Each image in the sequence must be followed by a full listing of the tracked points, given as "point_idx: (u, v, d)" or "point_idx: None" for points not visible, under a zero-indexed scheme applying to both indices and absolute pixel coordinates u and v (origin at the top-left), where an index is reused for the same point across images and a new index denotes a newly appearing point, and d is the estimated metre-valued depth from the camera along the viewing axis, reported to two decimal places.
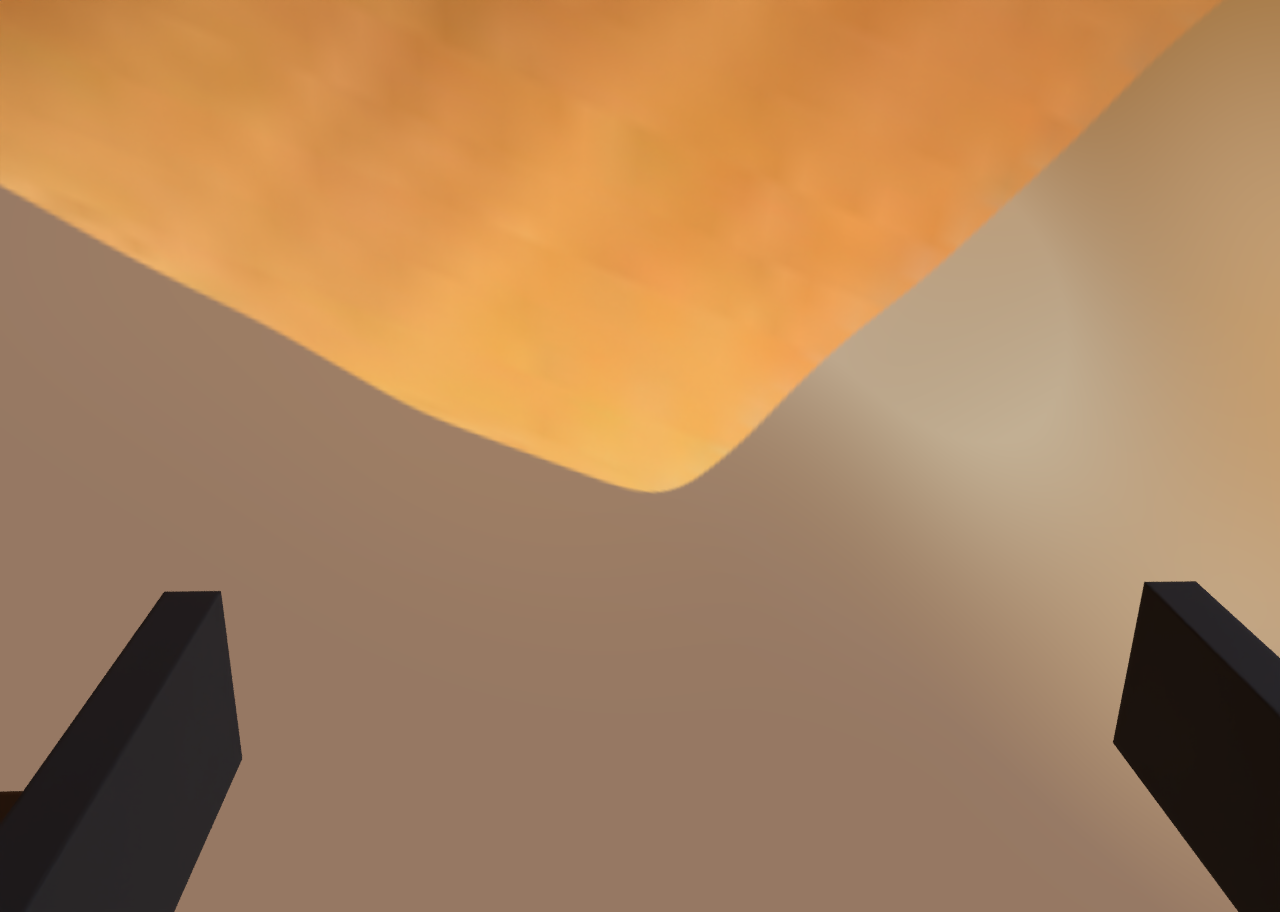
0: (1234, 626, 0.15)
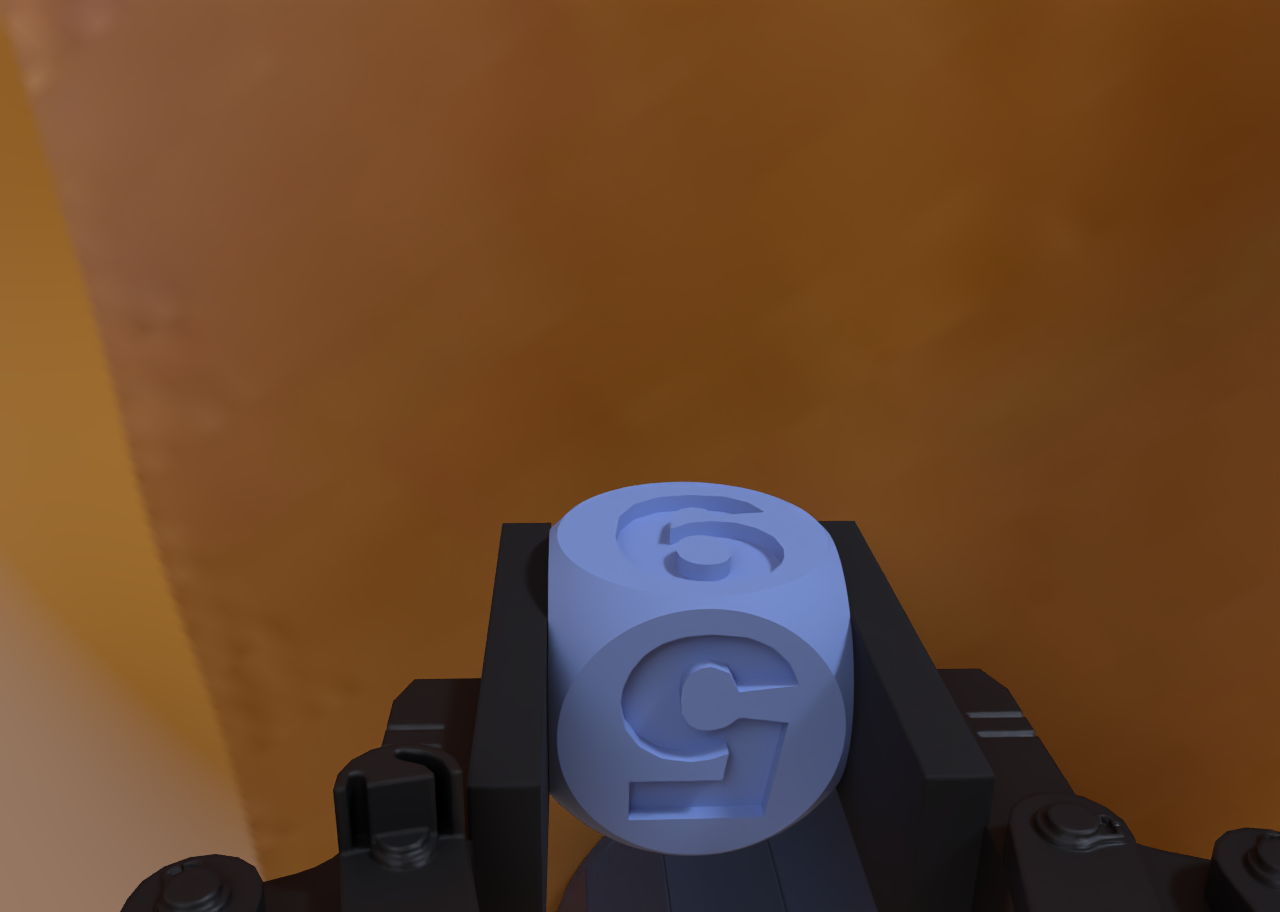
0: (864, 557, 0.17)
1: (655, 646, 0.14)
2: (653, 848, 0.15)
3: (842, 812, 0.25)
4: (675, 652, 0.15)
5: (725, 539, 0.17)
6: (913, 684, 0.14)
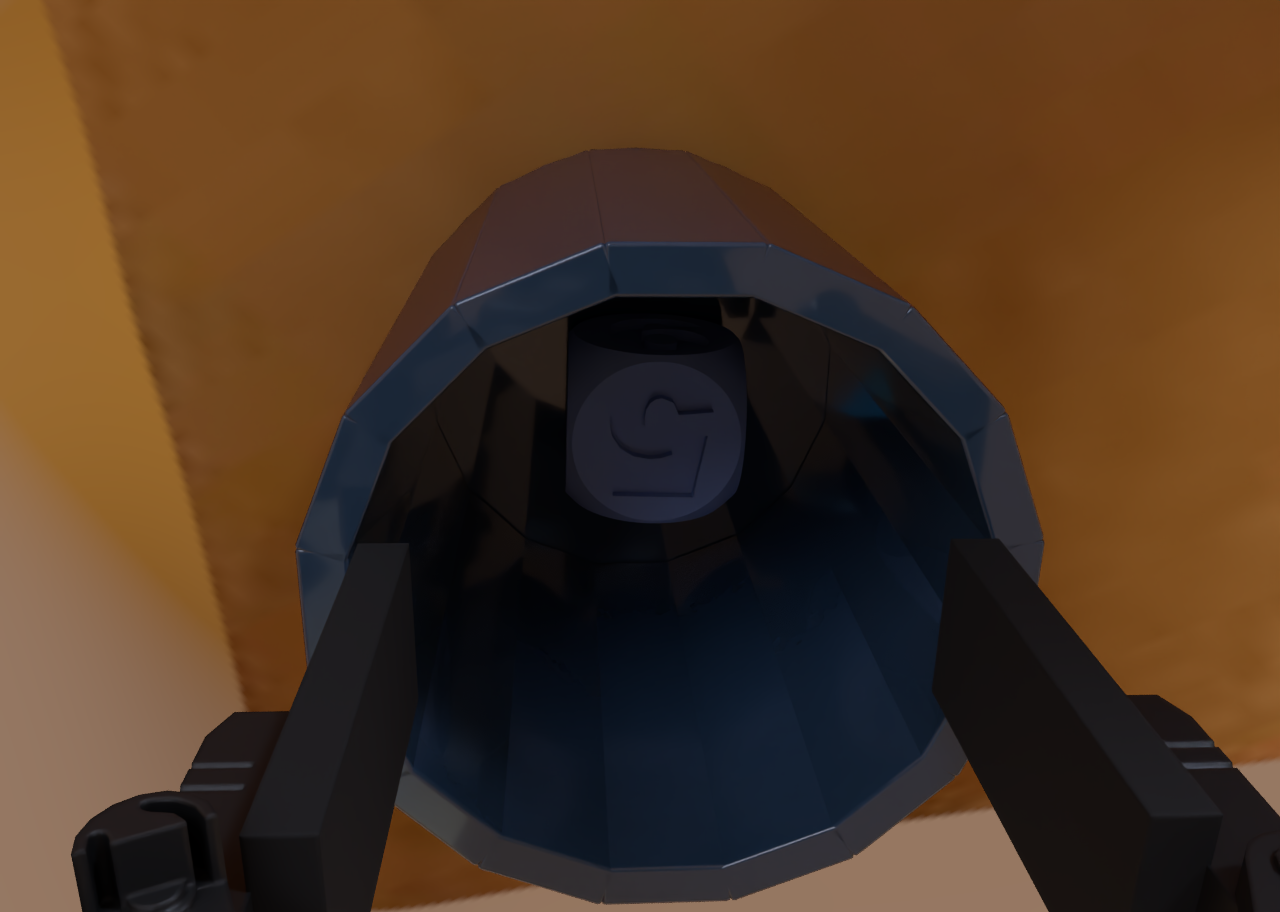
0: (1020, 576, 0.16)
1: (630, 384, 0.25)
2: (627, 515, 0.26)
3: (669, 157, 0.26)
4: (642, 391, 0.25)
5: None
6: (1109, 714, 0.13)
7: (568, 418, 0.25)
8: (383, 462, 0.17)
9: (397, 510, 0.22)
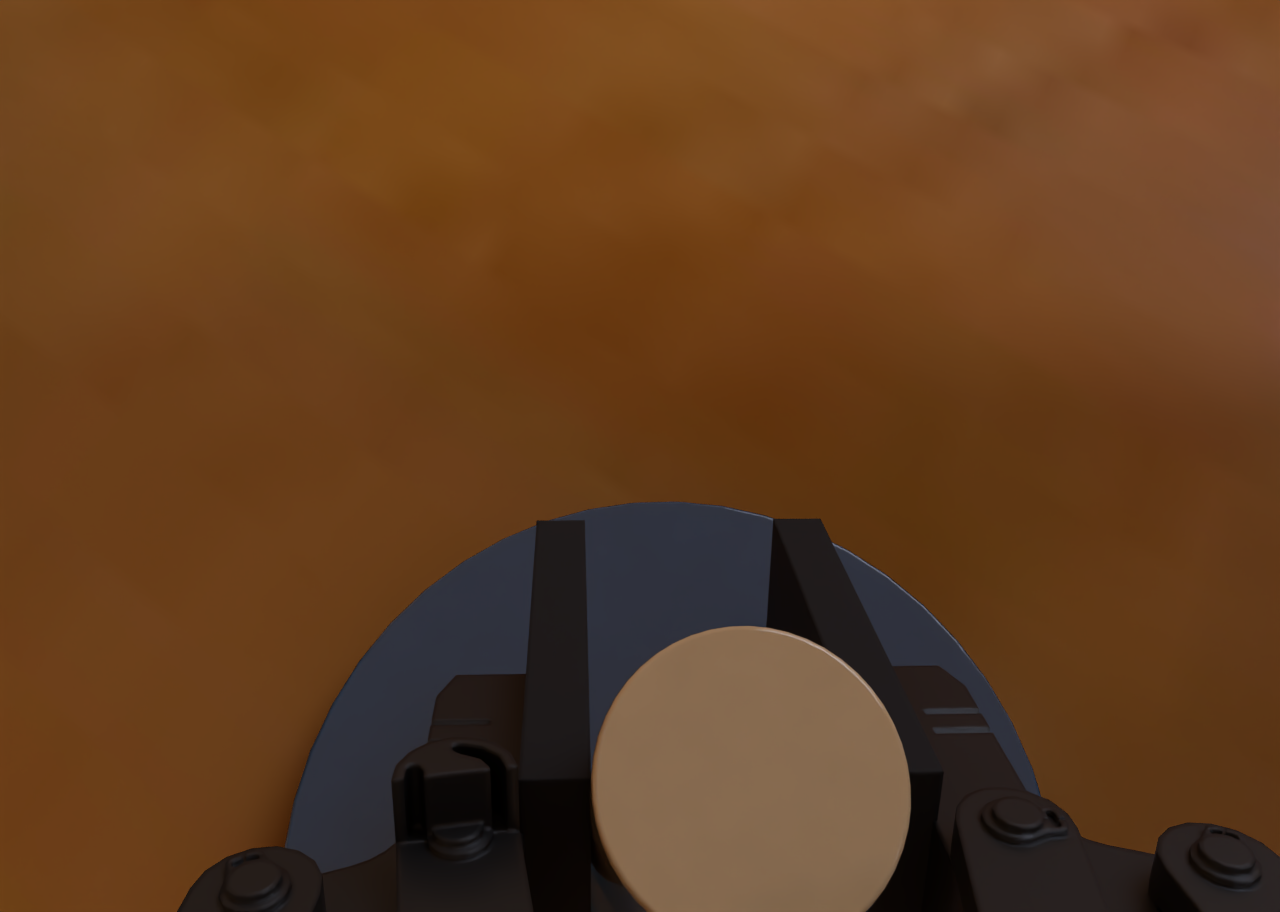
0: (827, 554, 0.17)
1: None
2: None
3: None
4: None
5: None
6: (868, 680, 0.14)
7: None
8: None
9: None
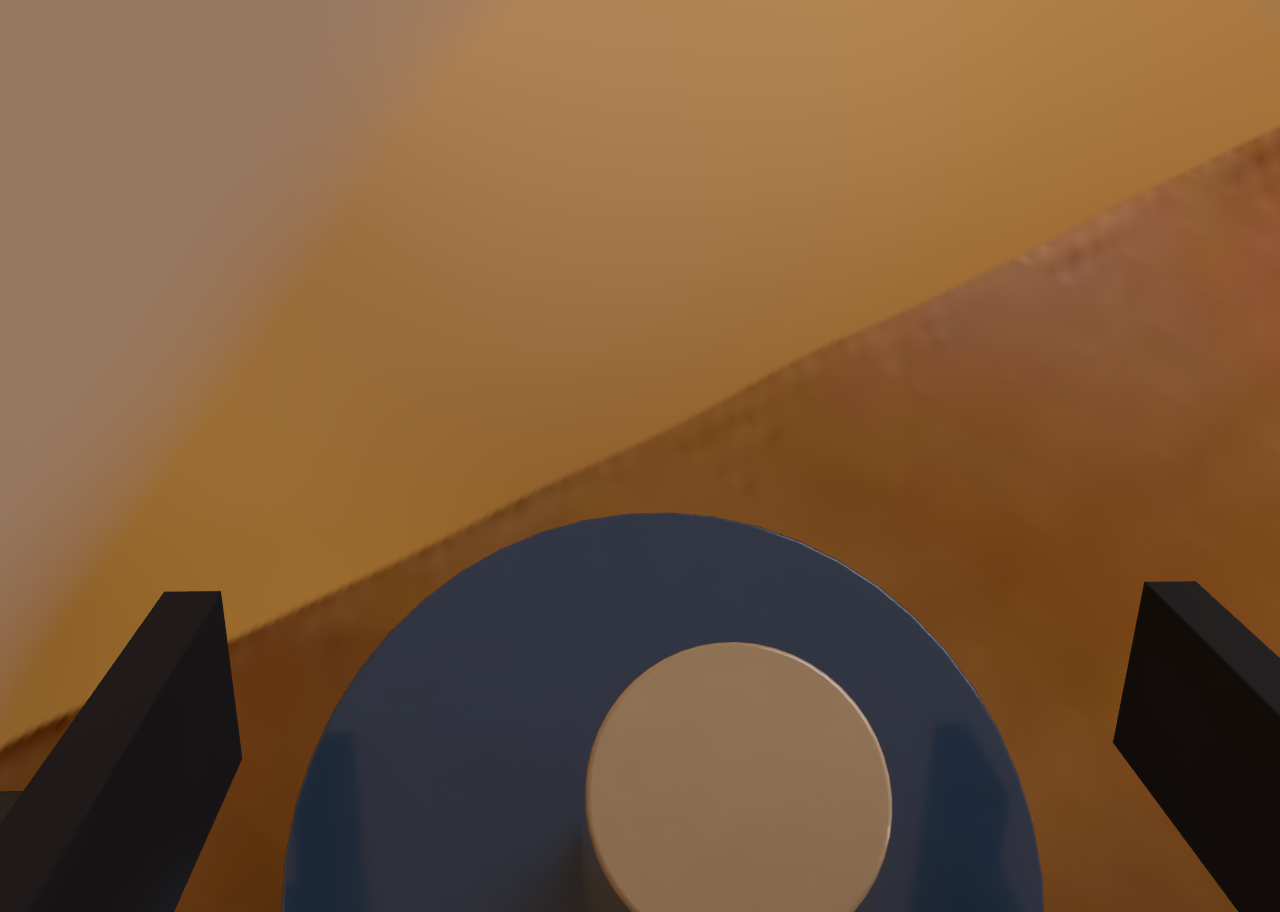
0: (1234, 626, 0.15)
1: None
2: None
3: None
4: None
5: None
6: None
7: None
8: None
9: None
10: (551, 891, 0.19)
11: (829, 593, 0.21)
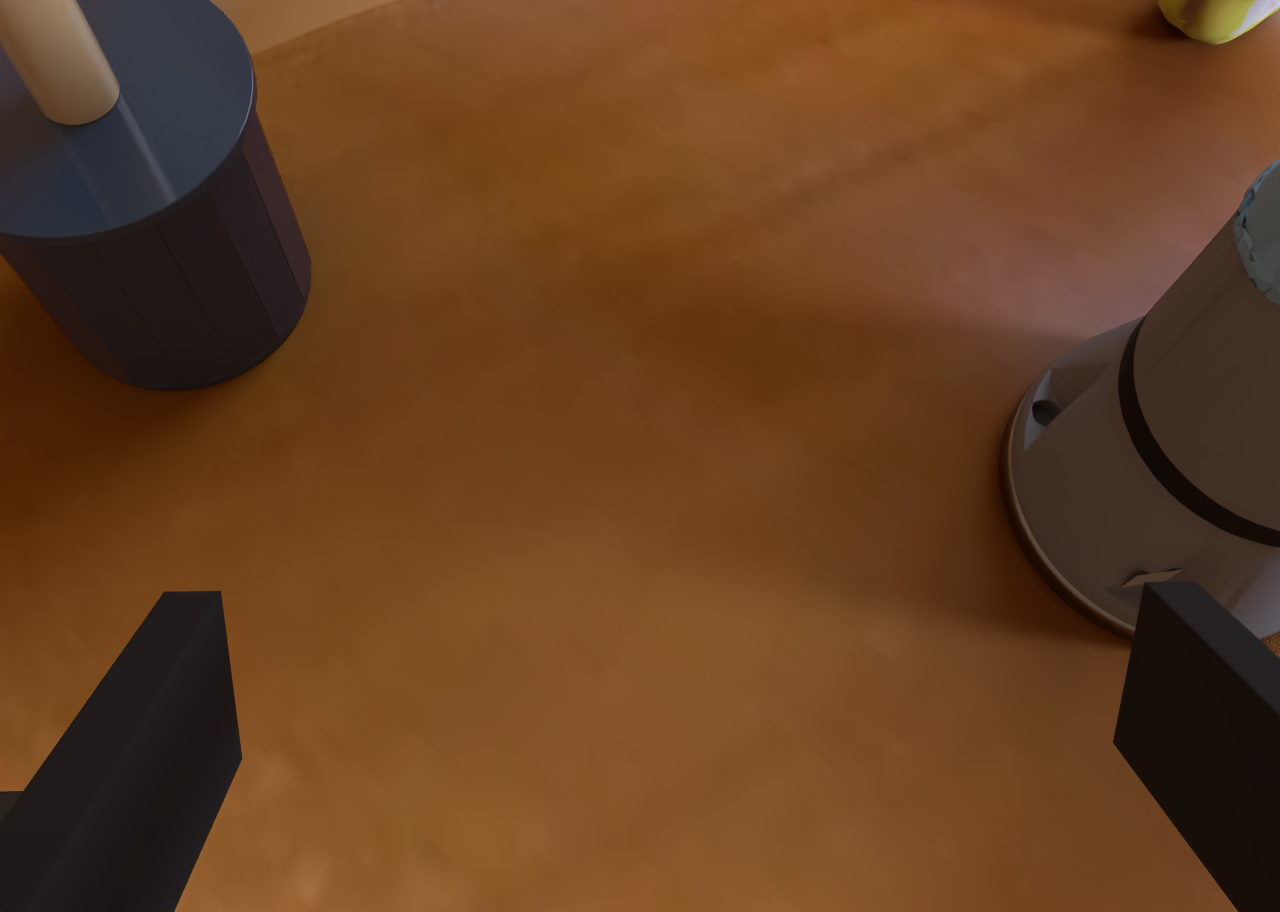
0: (1234, 626, 0.15)
1: None
2: None
3: (301, 234, 0.54)
4: None
5: None
6: None
7: None
8: None
9: None
10: (23, 100, 0.43)
11: (182, 0, 0.45)
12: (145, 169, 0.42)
